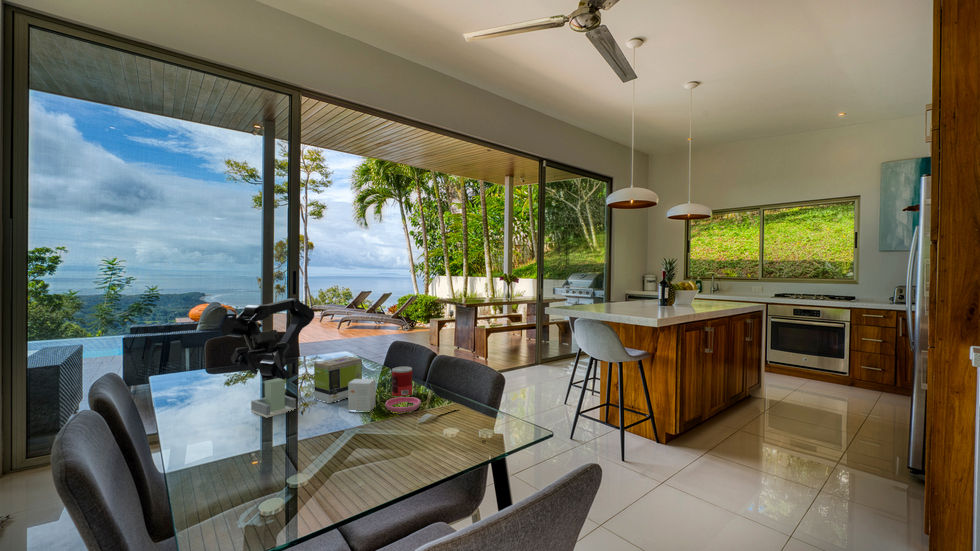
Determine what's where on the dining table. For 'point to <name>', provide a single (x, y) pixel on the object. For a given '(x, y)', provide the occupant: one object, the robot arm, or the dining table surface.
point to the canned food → (401, 381)
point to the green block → (275, 394)
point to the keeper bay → (264, 409)
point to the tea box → (335, 377)
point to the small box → (361, 394)
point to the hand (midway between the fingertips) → (269, 371)
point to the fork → (425, 417)
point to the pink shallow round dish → (400, 400)
